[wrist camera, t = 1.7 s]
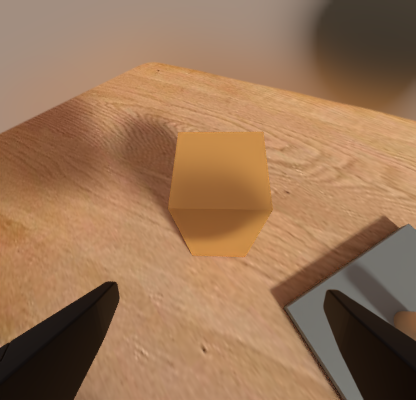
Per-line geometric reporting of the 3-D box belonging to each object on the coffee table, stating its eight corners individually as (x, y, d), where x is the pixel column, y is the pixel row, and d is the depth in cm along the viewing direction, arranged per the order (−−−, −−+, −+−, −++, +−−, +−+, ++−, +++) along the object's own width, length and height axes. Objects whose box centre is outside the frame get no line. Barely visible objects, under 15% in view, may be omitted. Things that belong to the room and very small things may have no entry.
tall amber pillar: (245, 256, 21) (272, 209, 11) (192, 255, 22) (167, 208, 11) (242, 208, 24) (263, 131, 13) (195, 208, 24) (178, 132, 13)
